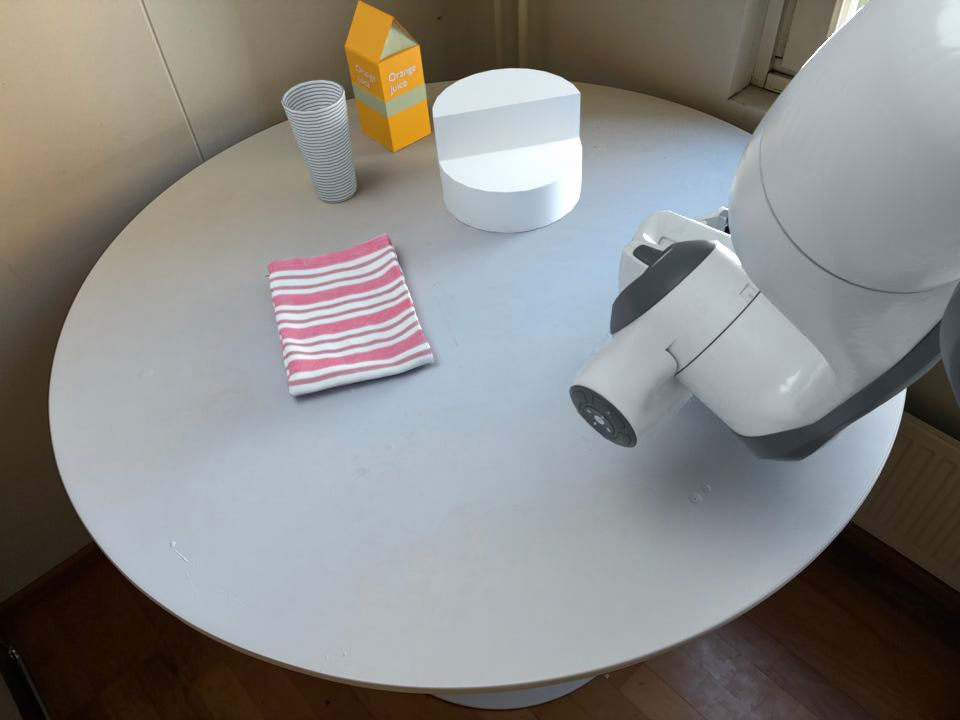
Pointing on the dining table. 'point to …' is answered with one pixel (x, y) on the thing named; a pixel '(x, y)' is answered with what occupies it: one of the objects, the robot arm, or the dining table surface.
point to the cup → (323, 136)
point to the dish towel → (345, 317)
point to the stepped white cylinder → (509, 149)
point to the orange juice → (387, 79)
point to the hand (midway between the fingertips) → (770, 231)
